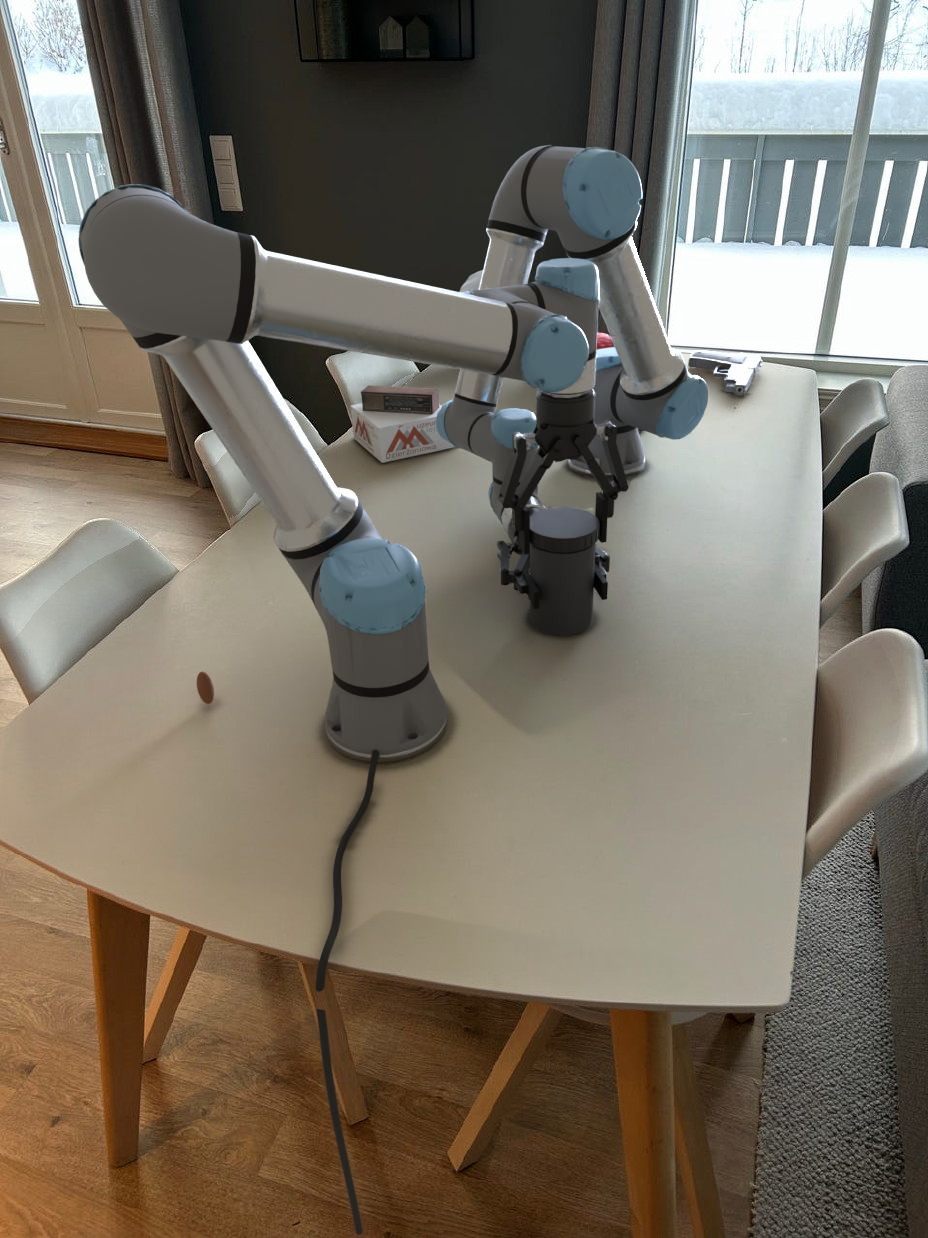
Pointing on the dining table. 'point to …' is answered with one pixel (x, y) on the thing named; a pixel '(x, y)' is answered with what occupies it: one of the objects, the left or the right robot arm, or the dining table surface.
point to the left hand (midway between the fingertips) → (562, 544)
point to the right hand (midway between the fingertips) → (571, 595)
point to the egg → (205, 687)
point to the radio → (398, 422)
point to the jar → (563, 590)
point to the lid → (564, 529)
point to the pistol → (728, 368)
